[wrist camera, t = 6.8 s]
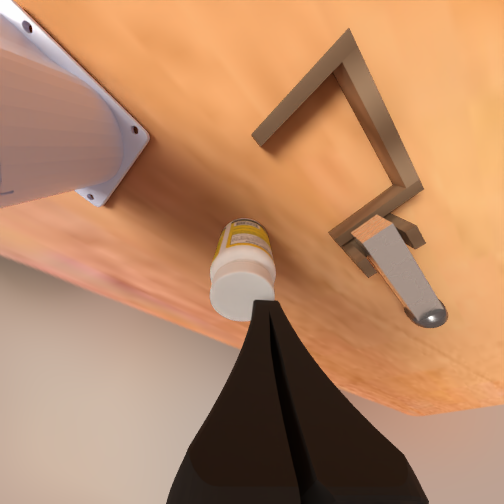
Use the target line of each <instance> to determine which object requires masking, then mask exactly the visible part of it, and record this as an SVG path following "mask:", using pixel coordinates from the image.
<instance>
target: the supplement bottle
mask: <svg viewBox="0 0 504 504" xmlns="http://www.w3.org/2000/svg"><path fill="white" fill-rule="evenodd" d="M275 278H276V268H275V263H274V259H273V255H272V250H271V246H270V242H269V238H268V234H267V232H266V230H265V228H264V227H263V226H262V225H261V224H260V223H259V222H257V221H255V220H253V219H249V218H239V219H236V220H233V221H231V222H230V223H228V224H227V225H226V226H225V228H224V229H223V231H222V233H221V235H220V238H219V242H218V245H217V248H216V252H215V255H214V258H213V261H212V264H211V268H210V279H211V283H212V285H211V289H210V301H211V304H212V306H213V308H214V309H215V310H216V311H217V312H218V313H219V314H220V315H222V316H223V317H225V318H227V319H230V320H234V321H251V316H252V308H253V301H254V300H272V301H274V299H275V293H274V282H275Z"/></svg>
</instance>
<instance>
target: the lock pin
mask: <svg viewBox="0 0 504 504" xmlns="http://www.w3.org/2000/svg"><path fill="white" fill-rule="evenodd" d="M351 234H352V236H353V237H354V238H355V240H356V241H357V243H358V244H359V245H360V247H361V248H362V249H363V251H364V252H365V254H366V255H367V256H368V258H369V259H370V260H371V262H372V263H373V264H374V266H375V267H376V269H377V270H378V271H379V273H380V274H381V275H382V277H383V278H384V279H385V281H386V282H387V284H388V285H389V286H390V288H391V289H392V290H393V292H394V293H395V294H396V296H397V297H398V299H399V300H400V301H401V303H402V304H403V305H404V310H405V313H406V315H407V316H408V317H409V319H410V320H411V321H412V322H413V323H415V324H416V325H418V326H421V327H424V328H435V327H439V326H441V325H443V324H444V323H445V322H446V321H447V319H448V312H447V310H446V308H445V306H444V305H443V303H442V302H441V301H440V300H439V299H438V298H437V296H436V295H435V293H434V291H433V290H432V288H431V286H430V285H429V283H428V281H427V280H426V278H425V276H424V275H423V273H422V271H421V270H420V268H419V266H418V264H417V263H416V261H415V259H414V258H413V256H412V254H411V253H410V251H409V249H408V248H407V246H406V244H405V243H404V241H403V239H402V238H401V236H400V234H399V233H398V231H397V229H396V228H395V226H394V224H393V223H392V222H390V221H388V220H386V219H384V218H382V217H381V216H379V215H375V216H374V217H372V218H371V219H370V220H368V221H367V222H365V223H364V224H362V225H361V226H360V227H358V228H357V229H355V230H354V231H352V232H351Z"/></svg>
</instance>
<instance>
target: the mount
mask: <svg viewBox="0 0 504 504" xmlns="http://www.w3.org/2000/svg"><path fill="white" fill-rule="evenodd" d="M332 72H333V74H334V76H335V78H336V79H337V81H338V83H339V85H340V87H341V89H342V91H343V92H344V94H345V96H346V98H347V100H348V102H349V104H350V105H351V107H352V109H353V111H354V113H355V115H356V117H357V118H358V120H359V122H360V124H361V126H362V128H363V130H364V131H365V133H366V135H367V137H368V139H369V141H370V143H371V144H372V146H373V148H374V150H375V152H376V154H377V156H378V157H379V159H380V161H381V163H382V165H383V167H384V169H385V171H386V172H387V174H388V176H389V178H390V180H391V182H392V184H393V185H392V186H391V187H390V188H388V189H387V190H386V191H384V192H383V193H381V194H380V195H379V196H377V197H376V198H375V199H373V200H372V201H371V202H369V203H368V204H366V205H365V206H364V207H362V208H361V209H360V210H358V211H357V212H356V213H354V214H353V215H351V216H350V217H349V218H347V219H346V220H345V221H343V222H342V223H341V224H339V225H338V226H336V227H335V228H334V229H332V230H331V231H330V232H328V233H329V234H330V235H331V236H332V238H333V239H334V240H335V241H336V242H337V243H338V245H339V246H340V247H342V249H343V250H344V251H345V252H346V254H347V255H348V256H349V257H350V258H351V259H352V260H353V262H354V263H355V264H356V265H357V266H358V267H359V268H360V269H361V270H362V271H363V273H364V274H365V275H366V276H367V277H368V278H369V277H370V276H372V275H374V274H375V273H377V272H376V270H375V269H374V268H373V266H372V265H371V264H370V262H369V261H368V260H367V258H366V257H367V255H366V254H365V252H364V251H363V249H362V248H361V247H360V245H359V244H358V243H357V241H356V240H355V238H354V237H353V236H352V234H351V232H352V231H354V230H355V229H357V228H358V227H360V226H361V225H362V224H364V223H365V222H367V221H368V220H370V219H371V218H372V217H374V216H375V215H379V216H381V217H382V218H384V219H386V220H388V221H390V222H392V223H393V224H394V226H395V228H396V229H397V231H398V233H399V234H400V236H401V238H402V239H403V241H404V243H406V244H407V245H409V246H411V247H412V248H414V249H415V250H416V249H417V248H419V247H421V246H422V245H424V244H426V242H425V241H424V239H423V237H422V235H421V233H420V231H419V229H418V227H417V226H416V225H414V224H412V223H410V222H408V221H406V220H404V219H402V218H399V217H397V216H395V215H393V214H391V213H390V212H392V211H393V210H394V209H396V208H397V207H399V206H400V205H402V204H403V203H405V202H406V201H407V200H409V199H410V198H412V197H413V196H415V195H416V194H418V193H419V192H421V191H422V190H423V189H424V188H423V186H422V183H421V181H420V179H419V177H418V175H417V173H416V171H415V168H414V166H413V164H412V162H411V160H410V158H409V156H408V153H407V151H406V149H405V147H404V145H403V143H402V141H401V138H400V136H399V134H398V132H397V130H396V128H395V126H394V123H393V121H392V119H391V117H390V115H389V113H388V110H387V108H386V106H385V104H384V102H383V100H382V98H381V95H380V93H379V91H378V89H377V87H376V85H375V83H374V80H373V78H372V76H371V74H370V72H369V70H368V68H367V65H366V63H365V61H364V59H363V57H362V55H361V52H360V50H359V48H358V46H357V44H356V42H355V40H354V37H353V35H352V33H351V31H350V29H349V28H348V29H347V30H346V32H345V33H344V34H343V35H342V36H341V37H340V38H339V39H338V40H337V41H336V42H335V44H334V45H333V46H332V47H331V48H330V49H329V50H328V51H327V52H326V53H325V54H324V56H323V57H322V58H321V59H320V60H319V61H318V62H317V63H316V64H315V65H314V67H313V68H312V69H311V70H310V71H309V72H308V73H307V74H306V75H305V76H304V77H303V79H302V80H301V81H300V82H299V83H298V84H297V85H296V86H295V87H294V88H293V89H292V91H291V92H290V93H289V94H288V95H287V96H286V97H285V98H284V99H283V100H282V102H281V103H280V104H279V105H278V106H277V107H276V108H275V109H274V110H273V111H272V112H271V114H270V115H269V116H268V117H267V118H266V119H265V120H264V121H263V122H262V123H261V124H260V126H259V127H258V128H257V129H256V130H255V131H254V132H253V133H252V135H251V136H252V137H253V138H254V139H255V141H256V142H257V143H258V145H259V146H262V145H263V144H264V143H265V142H266V141H267V140H268V139H269V138H270V137H271V136H272V135H273V134H274V132H275V131H276V130H277V129H278V128H279V127H280V126H281V125H282V124H283V123H284V122H285V121H286V120H287V119H288V118H289V117H290V116H291V115H292V114H293V113H294V112H295V111H296V110H297V109H298V107H299V106H300V105H301V104H302V103H303V102H304V101H305V100H306V99H307V98H308V97H309V96H310V95H311V94H312V93H313V92H314V91H315V90H316V89H317V88H318V87H319V86H320V85H321V84H322V82H323V81H324V80H325V79H326V78H327V77H328V76H329V75H330V74H331V73H332Z"/></svg>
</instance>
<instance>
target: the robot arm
mask: <svg viewBox="0 0 504 504" xmlns="http://www.w3.org/2000/svg"><path fill="white" fill-rule="evenodd" d="M30 25H31V26H32V33H31V32H30V30H29V26H30ZM135 126H136V127H137V128H138V133H137V134H136V133H135V132H134V127H135ZM149 140H150V136H149V133H148V132H147V131H146V130H145V129H144V128H143V127H142V126H141V125H140V124H139V123H138V122H137V121H136V120H135V119H134V118H133V117H132V116H131V115H130V114H129V113H128V112H127V111H126V110H125V109H124V108H123V107H122V106H121V105H120V104H119V103H118V102H117V101H116V100H115V99H114V98H113V97H112V96H111V95H110V94H109V93H108V92H107V91H106V90H105V89H104V88H103V87H102V86H101V85H100V84H99V83H98V82H97V81H96V80H95V79H94V78H93V77H92V76H90V75H89V74H88V73H87V72H86V71H85V70H84V69H83V68H82V67H81V66H80V65H79V64H78V63H77V62H76V61H75V60H74V59H73V58H72V57H71V56H70V55H69V54H68V53H67V52H66V51H65V50H64V49H63V48H62V47H61V46H60V45H59V44H58V43H57V42H56V41H55V40H54V39H53V38H52V37H51V36H50V35H49V34H48V33H47V32H46V31H45V30H44V29H43V28H42V27H41V26H40V25H39V24H38V23H37V22H36V21H35V20H34V19H33V18H32V17H31V16H30V15H29V14H28V13H27V12H25V11H24V10H23V9H22V8H21V7H20V6H19V5H18V4H17V3H16V2H15V1H13V0H0V208H4V207H8V206H12V205H16V204H20V203H24V202H28V201H32V200H37V199H41V198H45V197H49V196H53V195H57V194H61V193H65V192H69V191H73V190H74V191H75V192H77V193H78V194H80V195H81V196H82V197H84V198H85V199H86V200H88V201H89V202H90V203H92V204H93V205H95V206H97V207H101V206H103V205H104V204H105V203H106V202H107V200H108V199H109V197H110V196H111V195H112V193H113V192H114V190H115V189H116V188H117V186H118V185H119V183H120V182H121V180H122V179H123V178H124V176H125V175H126V173H127V172H128V171H129V169H130V168H131V166H132V165H133V163H134V162H135V161H136V159H137V158H138V156H139V155H140V154H141V152H142V151H143V149H144V148H145V146H146V145H147V144H148V142H149ZM90 194H91V195H93V197H94V199H93V198H92V197H91V195H90ZM166 504H429V501H428V499H427V497H426V495H425V493H424V491H423V489H422V487H421V485H420V483H419V481H418V479H417V477H416V475H415V474H414V471H413V470H412V468H411V466H410V465H409V463H408V461H407V459H406V458H405V456H404V454H403V453H402V452H400V451H399V450H398V449H397V448H396V447H395V446H394V445H393V444H392V443H391V442H390V441H389V440H388V439H386V438H385V437H384V436H383V435H382V434H381V433H380V432H379V431H378V430H377V429H376V428H375V427H374V426H373V425H372V424H371V423H370V422H369V421H368V420H367V419H366V418H365V417H364V416H363V415H362V414H361V413H360V412H359V411H358V410H357V409H356V408H355V407H354V406H353V405H352V404H351V403H350V402H349V400H348V399H347V398H346V397H345V396H344V395H343V394H342V393H341V392H340V390H339V389H338V388H337V387H336V386H335V385H334V384H333V383H332V381H331V380H330V379H329V378H328V377H327V375H326V374H325V373H324V372H323V371H322V369H321V368H320V367H319V365H318V364H317V363H316V362H315V360H314V359H313V358H312V356H311V355H310V353H309V352H308V351H307V349H306V348H305V346H304V345H303V343H302V342H301V340H300V339H299V337H298V336H297V334H296V332H295V331H294V329H293V328H292V326H291V324H290V322H289V321H288V319H287V317H286V315H285V313H284V312H283V310H282V308H281V306H280V303H279V302H278V301H272V300H254V301H253V308H252V316H251V322H250V325H249V329H248V332H247V335H246V338H245V341H244V343H243V346H242V349H241V351H240V354H239V356H238V359H237V361H236V363H235V365H234V367H233V369H232V372H231V374H230V376H229V378H228V380H227V382H226V384H225V386H224V388H223V389H222V391H221V393H220V395H219V397H218V399H217V400H216V402H215V404H214V406H213V408H212V410H211V411H210V413H209V415H208V417H207V418H206V420H205V421H204V423H203V425H202V426H201V428H200V430H199V431H198V433H197V434H196V436H195V438H194V440H193V441H192V443H191V444H190V446H189V448H188V450H187V452H186V455H185V457H184V459H183V461H182V464H181V466H180V468H179V470H178V472H177V474H176V477H175V479H174V482H173V484H172V487H171V489H170V492H169V496H168V499H167V503H166Z"/></svg>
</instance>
